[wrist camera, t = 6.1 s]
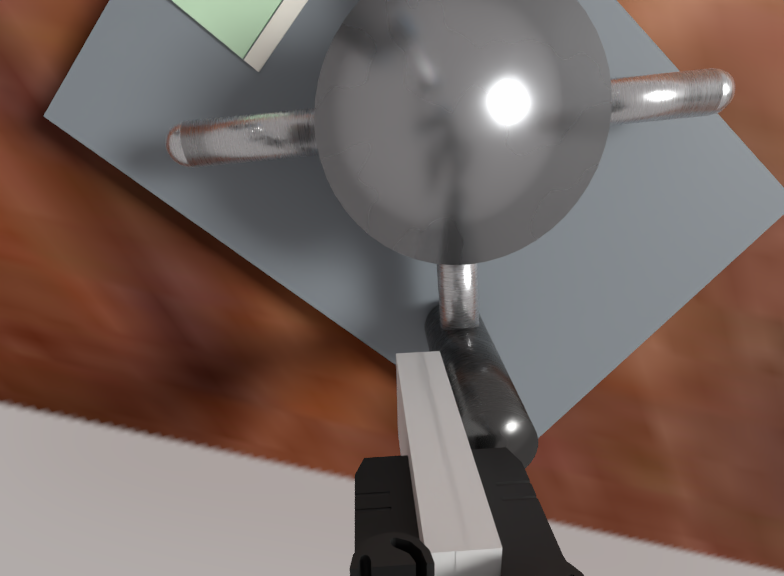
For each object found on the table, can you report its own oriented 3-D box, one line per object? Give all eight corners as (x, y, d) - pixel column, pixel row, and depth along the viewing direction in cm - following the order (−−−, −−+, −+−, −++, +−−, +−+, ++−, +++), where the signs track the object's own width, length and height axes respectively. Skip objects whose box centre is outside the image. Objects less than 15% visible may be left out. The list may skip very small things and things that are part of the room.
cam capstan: (242, 370, 18) (179, 513, 12) (99, -245, 12) (-175, -581, 6) (663, 326, 18) (810, 448, 12) (737, -306, 12) (1108, -698, 6)
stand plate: (65, 113, 16) (41, 116, 15) (312, -310, 13) (306, -350, 12) (513, 434, 22) (521, 455, 20) (770, 194, 18) (799, 202, 17)
